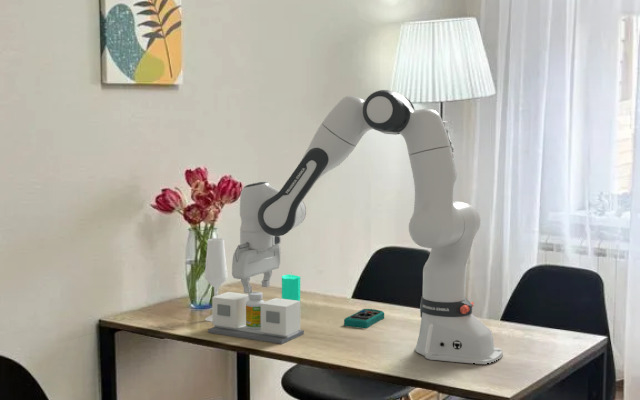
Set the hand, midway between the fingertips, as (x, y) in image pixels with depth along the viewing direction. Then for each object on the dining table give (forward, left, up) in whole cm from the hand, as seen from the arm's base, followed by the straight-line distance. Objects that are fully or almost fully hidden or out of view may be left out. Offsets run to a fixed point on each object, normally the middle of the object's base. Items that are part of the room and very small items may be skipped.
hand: (256, 289), depth 251 cm
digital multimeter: (-20, -27, -13) cm, 37 cm away
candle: (+6, -30, -13) cm, 33 cm away
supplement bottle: (0, 0, -11) cm, 11 cm away
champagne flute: (+19, -8, -13) cm, 25 cm away
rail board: (0, 0, -13) cm, 13 cm away
